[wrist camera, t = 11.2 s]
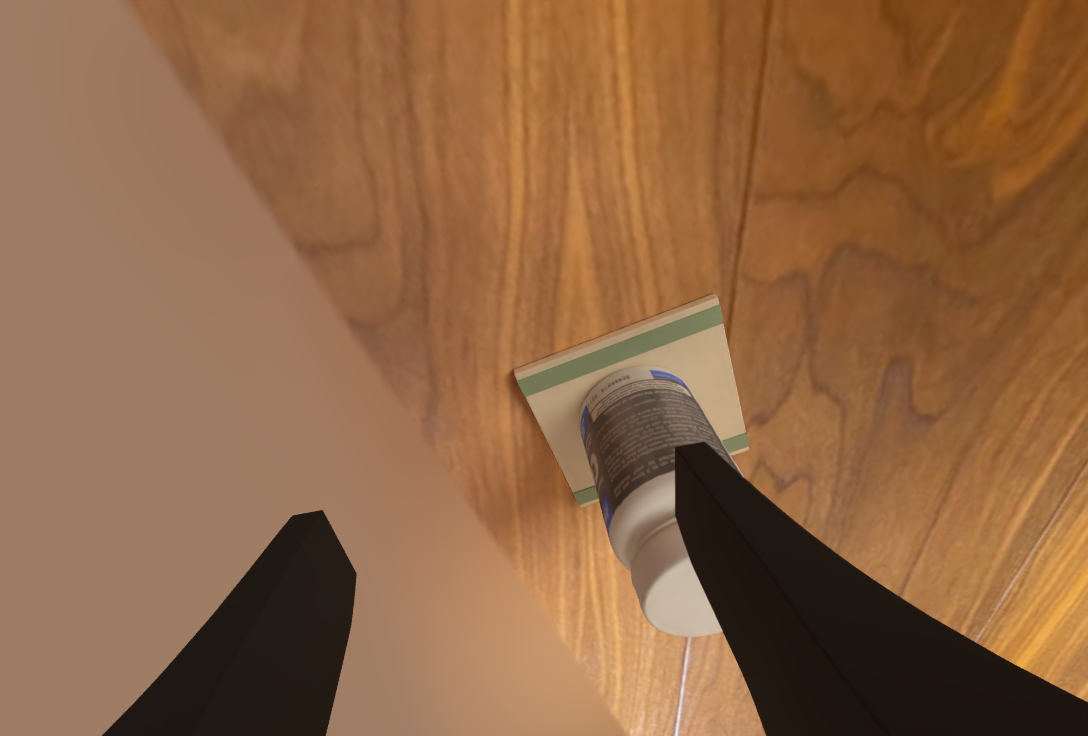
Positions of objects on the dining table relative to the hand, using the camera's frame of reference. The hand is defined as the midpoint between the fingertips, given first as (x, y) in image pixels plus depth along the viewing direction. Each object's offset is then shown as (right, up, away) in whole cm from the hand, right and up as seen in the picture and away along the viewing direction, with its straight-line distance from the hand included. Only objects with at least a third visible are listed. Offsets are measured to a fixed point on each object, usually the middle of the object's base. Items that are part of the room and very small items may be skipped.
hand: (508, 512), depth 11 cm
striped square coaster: (+5, +1, +11) cm, 12 cm away
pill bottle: (+4, +1, +11) cm, 12 cm away
